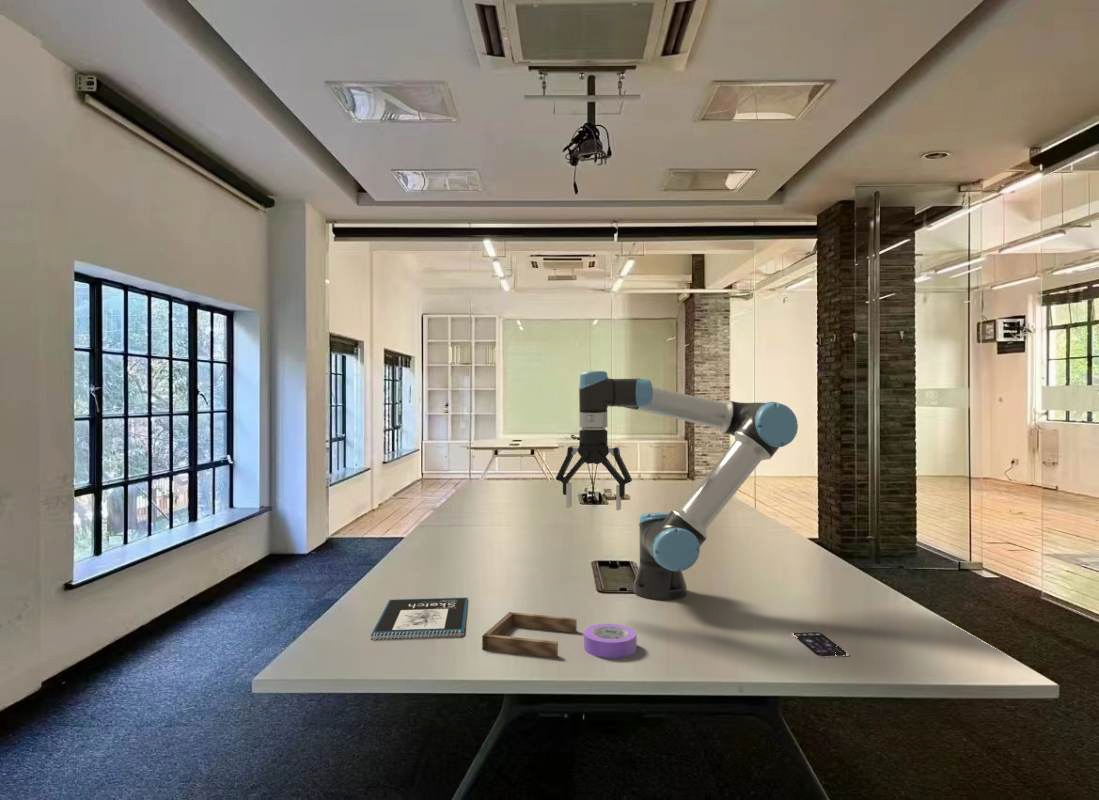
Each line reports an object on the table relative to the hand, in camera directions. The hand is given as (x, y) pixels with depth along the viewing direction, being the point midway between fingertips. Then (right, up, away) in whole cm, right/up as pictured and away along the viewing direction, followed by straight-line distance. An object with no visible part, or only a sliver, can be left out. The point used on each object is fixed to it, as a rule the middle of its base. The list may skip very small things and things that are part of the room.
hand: (593, 508), depth 177 cm
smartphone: (+49, -27, -27) cm, 62 cm away
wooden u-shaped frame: (-15, -27, -24) cm, 39 cm away
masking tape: (+2, -27, -29) cm, 40 cm away
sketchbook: (-44, -28, -8) cm, 52 cm away
